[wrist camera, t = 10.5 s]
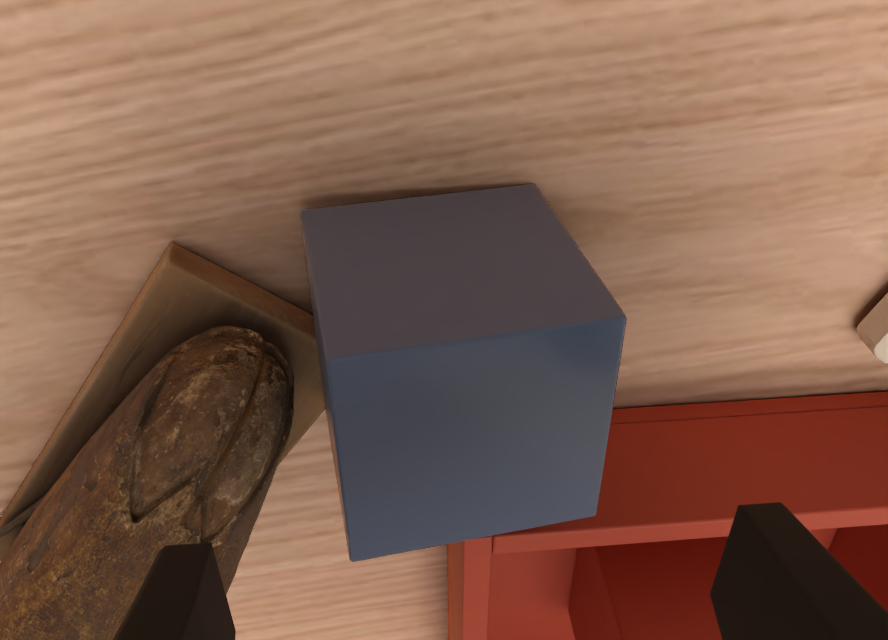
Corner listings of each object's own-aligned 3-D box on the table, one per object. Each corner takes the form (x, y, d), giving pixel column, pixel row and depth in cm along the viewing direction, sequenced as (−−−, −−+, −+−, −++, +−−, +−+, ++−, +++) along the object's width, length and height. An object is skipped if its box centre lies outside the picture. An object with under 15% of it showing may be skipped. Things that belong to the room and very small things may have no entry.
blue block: (323, 393, 18) (350, 564, 14) (299, 208, 15) (325, 361, 11) (523, 363, 18) (597, 517, 15) (535, 182, 16) (629, 316, 12)
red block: (567, 609, 23) (606, 773, 20) (582, 504, 21) (631, 671, 17) (720, 597, 24) (786, 755, 20) (754, 492, 21) (838, 653, 17)
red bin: (447, 660, 25) (459, 777, 22) (446, 418, 19) (462, 539, 16) (797, 630, 26) (851, 740, 23) (903, 389, 20) (993, 499, 17)
